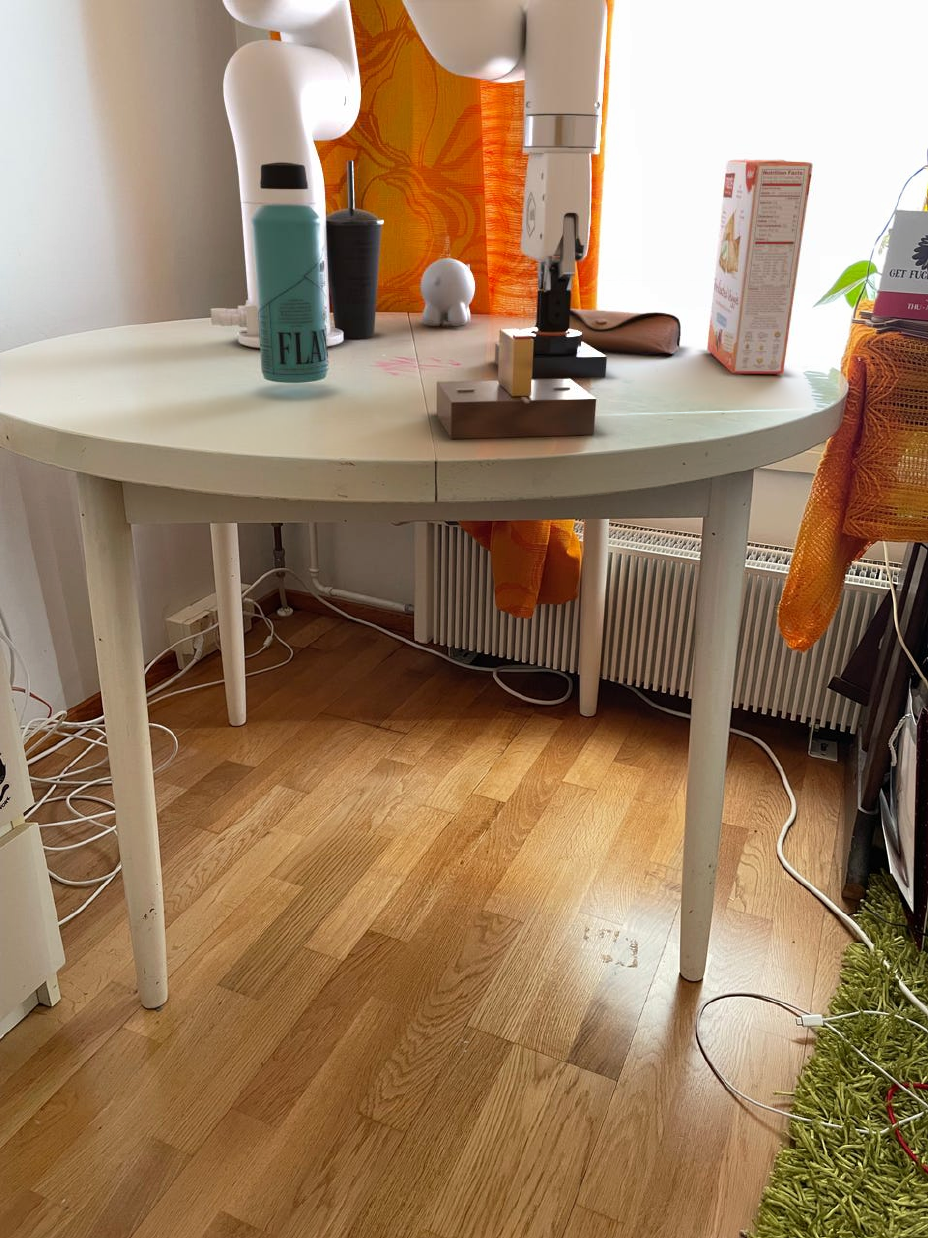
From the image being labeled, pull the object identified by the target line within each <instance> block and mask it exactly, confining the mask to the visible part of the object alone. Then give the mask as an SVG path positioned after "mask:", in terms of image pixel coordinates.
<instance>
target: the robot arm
mask: <svg viewBox="0 0 928 1238" xmlns="http://www.w3.org/2000/svg"><path fill="white" fill-rule="evenodd" d="M401 2H402V3H403V5H404V7H405V9H406V12H407V14H408V16H409V18H410V20H411V22H412V24H413V26H414V27H415V29H416V32H417V34H418V36H419V37H420V39H421V41H422V43H423V44H424V46H425V47H426V49H427V51H428V52H429V53H430V55H431V57H432V58H433V59H434V60H435V61H436V62H437V63H438V64H439V66H441V67H442V68H444V70H446V71H448V72H450V73H452V74H453V75H457V76H462V77H467V78H473V79H480V80H481V81H482V80H483V81H488V82H493V83H502V84H503V83H514V82H519V81H524V93H523V94H524V97H523V98H524V99H523V125H522V126H523V127H522V130H523V131H522V154H529V155H528V160H527V166H526V174H525V180H524V181H525V182H524V192H523V193H524V194H523V206H522V221H521V233H520V234H521V236H520V251H521V253H522V254H523V255H524V257H526V258H529V259H531V260H533V261H536V262H537V289H538V290H537V296H536V298H537V299H536V319H535V320H536V321H535V325H536V327H537V329H538V330H540V331H541V332H566V331H568V330H569V325H570V308H571V306H572V305H571V304H572V290H573V289H572V288H573V278H574V276H575V274H576V262H577V263H580V262H581V261H583V260H584V259H585V258H586V257H587V255H588V250H589V242H590V231H591V230H590V229H591V228H590V227H591V207H592V205H591V204H592V155H600V145H601V143H600V142H601V127H602V126H601V125H602V110H603V109H602V108H603V93H604V77H605V75H604V74H605V59H606V43H607V26H608V5H607V0H401ZM222 3H223V5H224V7H225V9H226V10H227V12H228V13H229V14H230V16H231V17H233V19H235V20H237V21H238V22H240V23H242V24H244V25H247V26H249V27H253V28H257V29H262V30H267V31H272V32H277V33H279V35H280V40H275V39H259V40H255V41H251V42H247V43H245V44H244V45H242V46H241V47H239V49H237V50H236V51H235V52H234V53H233V55H232V56H231V58H230V59H229V61H228V62H227V64H226V67H225V71H224V75H223V82H222V86H223V87H222V89H223V90H222V91H223V100H224V106H225V111H226V116H227V119H228V123H229V127H230V131H231V135H232V140H233V144H234V151H235V157H236V165H237V174H238V183H239V194H240V195H239V196H240V206H241V219H242V234H243V247H244V261H245V273H246V275H245V276H246V285H247V286H246V288H247V299H245V305H237V308H226V307H223V308H222V307H218V308H214V307H213V308H212V307H211V308H210V318H211V325H212V326H221V327H231V326H238V327H239V328H244V329H241V330H239V331H238V332H237V341H238V343H239V344H241V345H243V346H245V347H250V348H255V349H260V338H259V324H258V297H257V284H256V271H255V257H254V244H253V230H252V224H251V218H252V216H253V215H254V214H255V212H256V211H257V210H258V209H259V208H260V207H261V206H262V205H277V204H287V205H307V206H310V207H311V208H312V209H313V210H314V211H315V212H316V213H317V214H318V215H319V217H320V218H321V225H320V228H321V244H322V249H323V248H324V250H322V253H323V255H322V261H323V262H324V269H325V270H323V278H324V273H325V278H324V282H325V284H323V285H325V286H324V294H325V295H324V308H325V307H326V308H325V312H326V313H325V314H326V316H327V318H326V316H325V318H326V319H325V325H326V328H327V336H326V344H327V346H328V347H333V346H336V345H340V344H341V343H342V342H344V338H343V331H342V330H340V329H338V328H335V326H331V314H330V312H331V311H330V284H329V276H328V259H327V235H326V216H327V214H326V195H325V193H326V192H325V182H324V174H323V170H322V164H321V161H320V157H319V155H318V152H317V148H316V146H315V142H314V141H321V142H322V141H332V140H336V139H339V138H341V137H342V136H344V135H346V133H347V132H349V131H350V130H351V128H352V127H353V126H354V124H355V122H356V120H357V117H358V115H359V111H360V106H361V95H362V94H361V78H360V71H359V70H360V69H359V62H358V56H357V55H358V54H357V48H356V41H355V33H354V28H353V19H352V12H351V5H350V0H222ZM278 162H286V163H294V164H299V165H304V166H305V170H306V179H307V183H308V189H261V187H260V181H261V165H264V164H270V163H278ZM324 282H323V283H324ZM325 298H326V299H325ZM327 337H328V338H327ZM327 339H328V340H327ZM327 341H328V343H327Z"/></svg>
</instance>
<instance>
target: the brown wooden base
mask: <svg viewBox="0 0 928 1238" xmlns="http://www.w3.org/2000/svg"><path fill="white" fill-rule="evenodd" d="M596 410H597V398H596V397H594V395H592V394H590V393H589V392H588V391H586V390H585V389H584V388H583V387H581V386H580V385H579V384H577V382H575V381H573V379H572V378H552V379H532V388H531V396H512V395H511V394H510V393H509V392H508V391H506V390H505V389H504V388H503V387H502V386H501V385H500V384H499V383H498V379H496V380H456V381H455V380H453V381H449V380H447V381H437V382H436V417H437V418H438V421H439V422H440V423H441V425H442V427H443V428H444V430H445V432H446V433H447V436H449V438H450V439H451V440H467V439H468V440H469V439H494V438H495V439H498V438H501V439H502V438H526V437H527V438H533V437H563V436H566V437H568V436H569V437H570V436H594V435H595V426H596V425H595V423H596Z"/></svg>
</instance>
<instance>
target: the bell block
mask: <svg viewBox="0 0 928 1238" xmlns="http://www.w3.org/2000/svg"><path fill="white" fill-rule="evenodd" d="M534 329H537V328H535V327H530V328H522V329H521V330H520V331H521V332H523V333H524V334H529V335H530V336H531V339H533V340H534V342H533V365H532V380H544V379H593V378H595V379H596V378H597V379H598V378H606V377H607V376H606V375H607V361H608V356H606V355H605V354H603V352H598V351H597V350H595V349H594V348H592V347H590V346H589V345H587V344H585V343H584V342H582V333H581V332H579V331H577V330H571V329H569V330H568V332H567V335H554V336H549V335H538V334H533V330H534ZM494 344H495V345H494V364H495V365H496V366H497V367H499V342H496V343H494Z"/></svg>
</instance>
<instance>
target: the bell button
mask: <svg viewBox="0 0 928 1238" xmlns="http://www.w3.org/2000/svg"><path fill="white" fill-rule="evenodd" d="M567 332H568V331H566V332H541V331H540V330H538V329H534V330H533V334H538V335H549V336H554V335H567Z"/></svg>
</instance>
